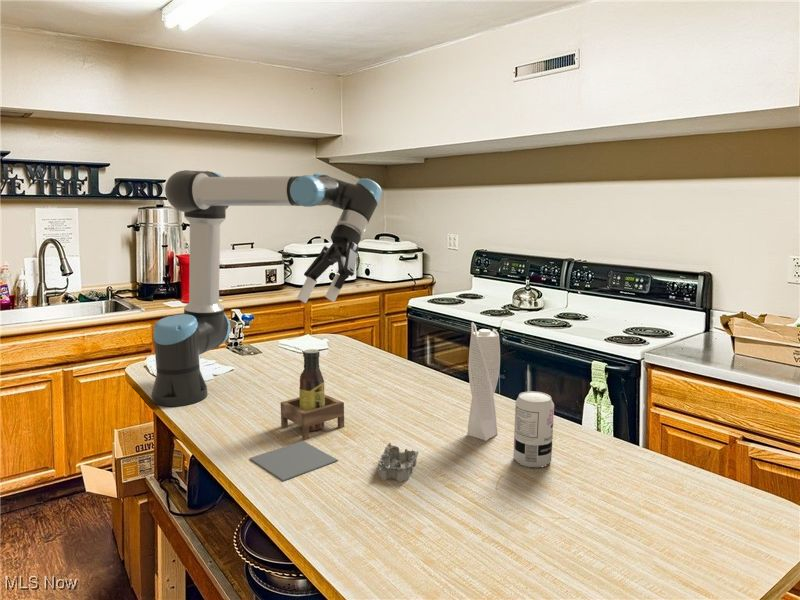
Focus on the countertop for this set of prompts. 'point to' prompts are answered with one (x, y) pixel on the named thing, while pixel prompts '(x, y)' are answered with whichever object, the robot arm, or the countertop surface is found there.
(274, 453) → the slate mat
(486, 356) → the skyscraper
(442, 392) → the countertop surface
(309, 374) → the sauce bottle
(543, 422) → the supplement can
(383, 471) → the egg carton
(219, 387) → the countertop surface
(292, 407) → the wooden square frame
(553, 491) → the countertop surface
